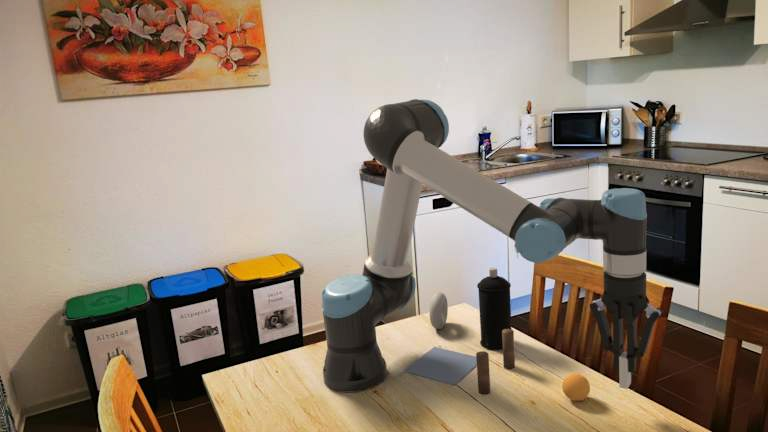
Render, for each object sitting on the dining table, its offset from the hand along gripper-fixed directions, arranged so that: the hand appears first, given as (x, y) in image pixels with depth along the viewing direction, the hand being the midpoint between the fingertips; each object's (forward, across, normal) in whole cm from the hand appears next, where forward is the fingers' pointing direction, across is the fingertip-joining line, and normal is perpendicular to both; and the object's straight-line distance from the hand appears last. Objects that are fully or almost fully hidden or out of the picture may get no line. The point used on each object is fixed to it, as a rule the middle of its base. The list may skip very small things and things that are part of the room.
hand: (625, 385), depth 119 cm
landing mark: (+5, +42, 0) cm, 42 cm away
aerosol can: (+6, +36, -16) cm, 40 cm away
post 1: (+5, +28, +6) cm, 29 cm away
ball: (+3, +10, 0) cm, 10 cm away
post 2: (+5, +28, -6) cm, 29 cm away
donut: (+5, +54, -18) cm, 57 cm away
